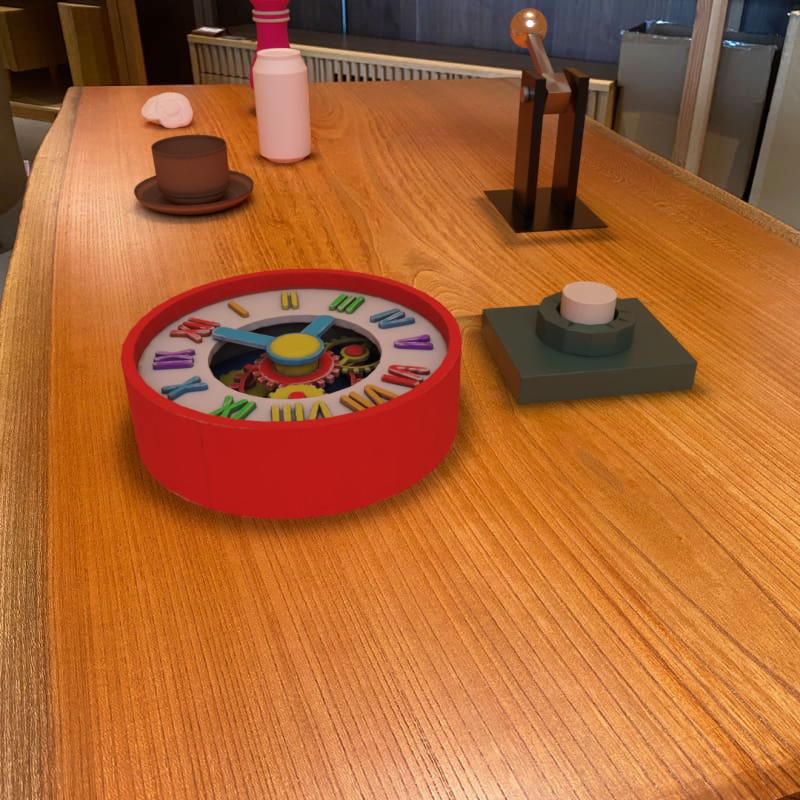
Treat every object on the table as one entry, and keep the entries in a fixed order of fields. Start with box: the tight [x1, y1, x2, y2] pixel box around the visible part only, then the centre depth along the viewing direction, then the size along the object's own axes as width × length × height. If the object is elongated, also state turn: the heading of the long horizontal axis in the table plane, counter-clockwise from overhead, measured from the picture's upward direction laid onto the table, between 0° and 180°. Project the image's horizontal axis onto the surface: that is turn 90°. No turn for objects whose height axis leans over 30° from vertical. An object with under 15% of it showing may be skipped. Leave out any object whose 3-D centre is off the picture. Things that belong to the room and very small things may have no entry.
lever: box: [509, 7, 572, 116], centre depth 80 cm, size 13×4×4 cm, turn 9°
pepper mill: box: [249, 0, 292, 91], centre depth 115 cm, size 7×7×20 cm
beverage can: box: [252, 48, 312, 164], centre depth 98 cm, size 6×6×12 cm
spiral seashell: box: [139, 91, 194, 130], centre depth 113 cm, size 7×5×4 cm
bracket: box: [483, 67, 609, 234], centre depth 80 cm, size 12×9×14 cm
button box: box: [480, 290, 699, 406], centre depth 58 cm, size 12×10×4 cm
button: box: [560, 280, 618, 325], centre depth 57 cm, size 4×4×2 cm
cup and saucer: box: [133, 134, 254, 216], centre depth 85 cm, size 12×12×6 cm
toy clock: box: [120, 267, 463, 520], centre depth 52 cm, size 20×6×20 cm
